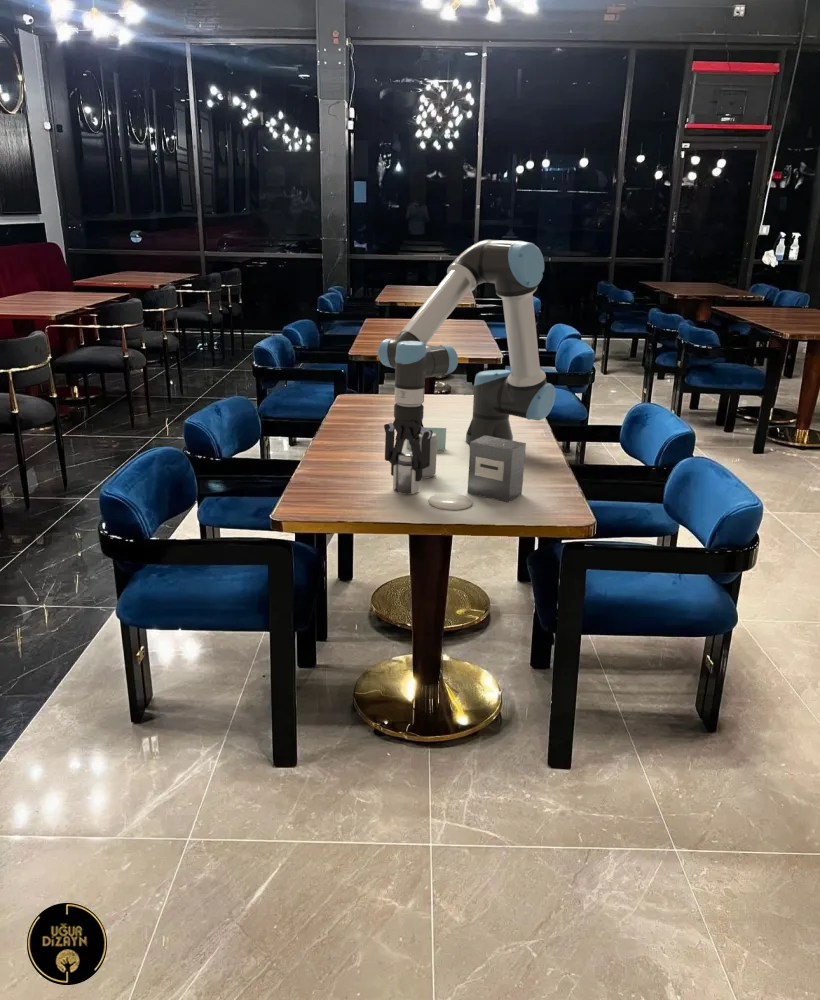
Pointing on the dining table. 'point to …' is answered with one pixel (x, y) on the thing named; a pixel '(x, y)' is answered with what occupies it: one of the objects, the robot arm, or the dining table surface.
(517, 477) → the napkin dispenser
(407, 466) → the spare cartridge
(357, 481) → the dining table surface
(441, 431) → the l-shaped corner panel
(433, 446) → the beverage can
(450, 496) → the stone coaster
